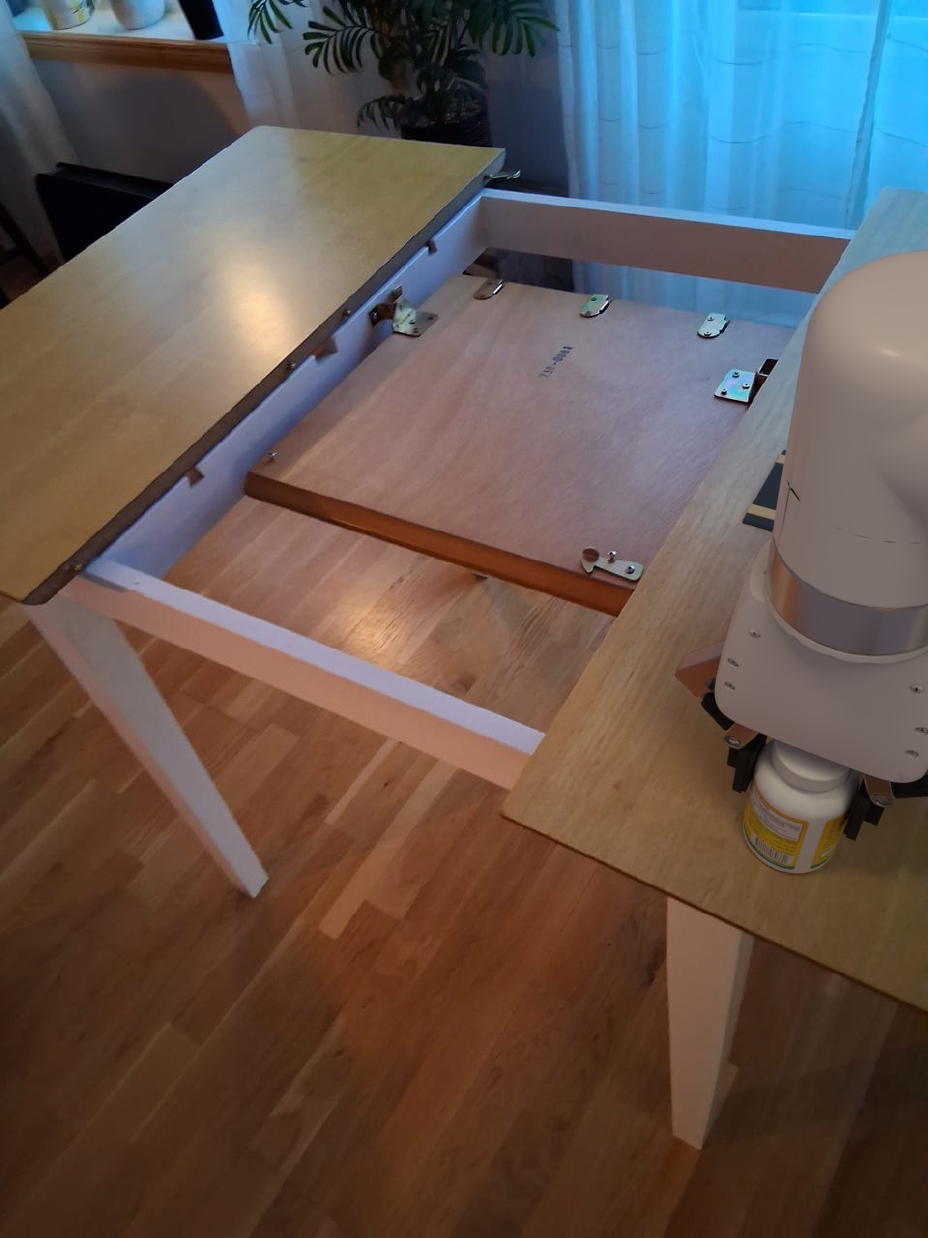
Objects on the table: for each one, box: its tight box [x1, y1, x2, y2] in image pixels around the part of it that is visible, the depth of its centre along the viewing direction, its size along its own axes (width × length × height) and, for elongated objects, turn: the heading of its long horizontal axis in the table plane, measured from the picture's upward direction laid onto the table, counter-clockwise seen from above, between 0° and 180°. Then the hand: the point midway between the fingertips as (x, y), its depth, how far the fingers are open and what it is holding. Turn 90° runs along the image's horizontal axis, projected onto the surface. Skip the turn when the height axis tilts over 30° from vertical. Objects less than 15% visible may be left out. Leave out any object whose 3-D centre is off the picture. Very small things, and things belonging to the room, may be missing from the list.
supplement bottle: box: [742, 738, 861, 874], centre depth 51 cm, size 5×5×10 cm
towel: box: [742, 449, 786, 532], centre depth 72 cm, size 6×9×1 cm, turn 148°
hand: (801, 792), depth 51 cm, fingers closed on supplement bottle, 5 cm apart
